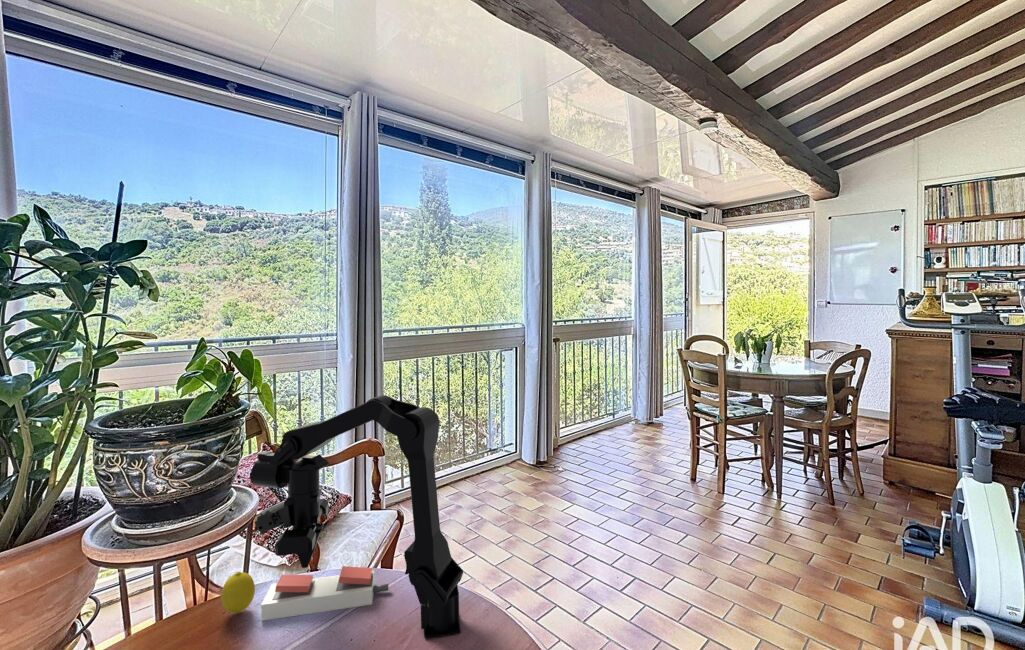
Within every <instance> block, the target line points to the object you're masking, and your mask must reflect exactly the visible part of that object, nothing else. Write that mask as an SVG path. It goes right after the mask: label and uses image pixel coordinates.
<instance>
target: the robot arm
mask: <svg viewBox="0 0 1025 650" xmlns="http://www.w3.org/2000/svg"><path fill="white" fill-rule="evenodd" d="M372 421H374V422H375V423H377V424H379V425H380V427H381V428H383V429H384V430H385V432H387V433H390V434H392V435H394V436H396V438H397V442H398V446H399V449H400V450H401V452H402V454H403V455H404V457H405V458H406V461H407V467H408V476H409V478H408V479H409V487H410V498H411V500H410V501H411V507H412V508H411V509H412V511H411V512H412V520H413V533H414V541H412V543H411V544H409V546H408V547H407V548H406V549H405V550H404V552H403V553H404V555H403V556H404V560H405V567H406V568H405V572H404V575H405V576H406V575H408V579H409V583H410V584H411V586H413V587H414V591H415V594H416V596H417V599H418V601H419V602H418V603H419V605H420V629H421V630H423V638H424V639H426V640H427V639H433V638H440V637H445V636H452V635H458V634H460V633H461V632H462V628H461V621H460V592H459V587H458V584H459V583H460V582H461V580H462V578H463V576H464V570H463V569H462V567H461V566H460V565H459V564H458V563H457V562H456V560H454V559H453V557H452V553H451V551H450V547H449V542H448V540H447V539H446V537H445V536H444V534H443V533H442V530H441V527H440V512H439V501H438V491H437V479H436V470H435V469H436V468H435V458H434V457H435V456H434V455H435V452H436V447H437V444H438V440H439V430H440V418H439V416H438V414H437V412H435V410H433V409H431V408H429V407H425V406H422V407H420V406H418V405H415V404H414V403H410V402H405V401H401V400H397V399H395V398H393V397H392V396H388V395H382V394H381V395H378V396H375V397H373V398H372V397H371V398H370V399H368V400H367V401H366V402H364V403H362V404H360V405H357V406H355V407H353V408H350V409H349V410H346V411H344V412H342V413H339V414H338V415H337V414H336V415H335V416H332V417H331V418H328V419H326V420H321V421H320V420H319V421H316V422H312V423H308V424H304V425H302V426H299V427H297V428H296V427H295V428H293V429H290V430H288V431H285V432H284V433H283V435H282V438H281V443H280V445H279V446H278V448H277V449H276V451H275V452H272V451H267V450H265V451H262V452H260V453H258V454H257V460H256V461H255V463H254V464H253V465H252V468H251V470H250V472H249V480H250V483H251V484H252V485H253V486H255V487H264V488H275V489H283V488H285V487H287V498H286V499H285V500H284V501H281V502H278V503H276V504H274V505H272V506H270V507H267V508H264V509H263V510H262V511H260V512H259V513H258V514H257V516H256V517H255V519H254V530H255V531H258V532H259V533H260V535H265V534H267V533H268V532H269V531H271V530H273V529H276V528H278V527H281V526H282V525H283V529H286V528H287V529H288V528H291V529H288V530H284V531H283V532H282V534H281V535H280V536H279V537H278V539H277V541H276V543H275V544H274V546H275V548H274V551H275V552H274V553H275V556H277V557H282V556H289V555H297V558H298V560H299V562H300V566H301V568H302V569H308V567H309V565H310V563H311V560H312V558H313V555H314V553H315V549H316V547H317V544H318V542H319V538H320V536H321V534H322V530H323V527H324V526H325V525H324V523H322V522H319V521H320V518H321V516H322V514H323V517H327V516H328V513H329V507H330V506H329V504H330V503H329V501H328V500H326V499H325V498H321V496H322V494H323V493H322V492H323V491H322V490H323V489H322V488H320V471H321V470H322V469H324V468H325V467H327V466H329V464H330V462H329V461H328V460H327V459H326V458H324V457H323V456H322V455H321V454H317V455H316V456H313V457H305V456H309V455H311V454H312V453H315V452H317V451H319V450H320V449H323V448H324V447H325V446H326V445H328V444H329V443H331V441H332V440H334V439H336V438H337V437H338V436H340V435H342V434H345V433H347V432H349V431H352V430H353V429H356V428H359V427H361V426H363V425H365V424H367V423H370V422H372Z"/></svg>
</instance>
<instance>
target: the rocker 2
mask: <svg viewBox="0 0 1025 650" xmlns="http://www.w3.org/2000/svg"><path fill="white" fill-rule="evenodd" d="M372 571H373V568H371V567H362V566H360V567H359V566H348V565H347V566H346V565H342V567H341V569H340V574H339V575H340V578H339V583H350V584H366V585H369V584H370V579H371V573H372Z"/></svg>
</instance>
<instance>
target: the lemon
mask: <svg viewBox="0 0 1025 650" xmlns="http://www.w3.org/2000/svg"><path fill="white" fill-rule="evenodd" d="M255 591H256V585H255V582H254V579H253V577H252V575H250V574H249V573H247V572H243V571H242V572H241V571H237V572H236V573H234V574H232V575H231V576H229V578H227V579H226V581H225V582H224V585H223V586H222V589H221V598H220V600H221V604H222V607H223V608H224V610H225V611H227V612H228V613H232V614H234V613H235V614H237V615H239V614H241V613H242V612H243V611H245V610H246V609H247V608H248V607H249V606H250V605H251V603H252V601H253V600H254V598H255V597H254V596H255Z"/></svg>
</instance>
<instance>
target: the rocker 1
mask: <svg viewBox="0 0 1025 650" xmlns="http://www.w3.org/2000/svg"><path fill="white" fill-rule="evenodd" d="M313 578H314V575H313V574H281V575H280V577H279V579H278V581H277V582H276V583H277V585H276V589H275V592H309V589H310V586H311V583H312V580H313Z"/></svg>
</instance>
